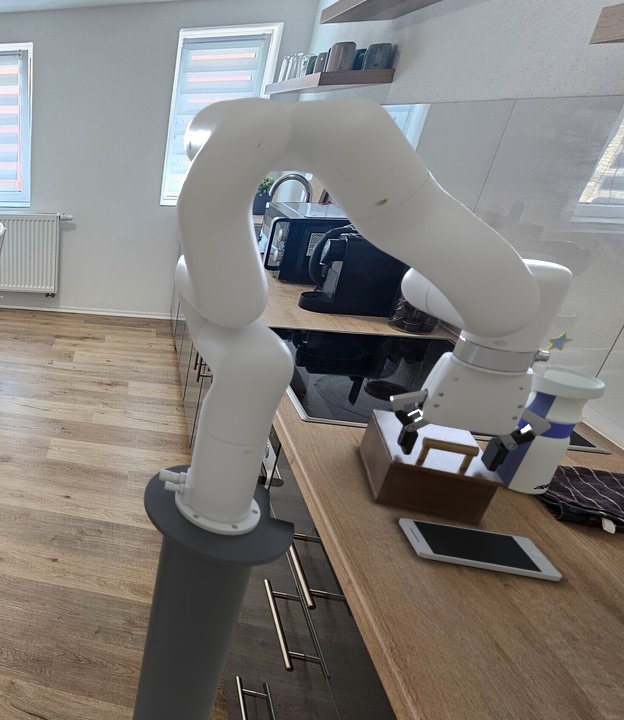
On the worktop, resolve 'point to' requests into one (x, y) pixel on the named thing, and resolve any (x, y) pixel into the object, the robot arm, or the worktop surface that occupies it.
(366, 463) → the chest
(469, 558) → the smartphone
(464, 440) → the chest lid
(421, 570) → the worktop surface
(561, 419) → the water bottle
